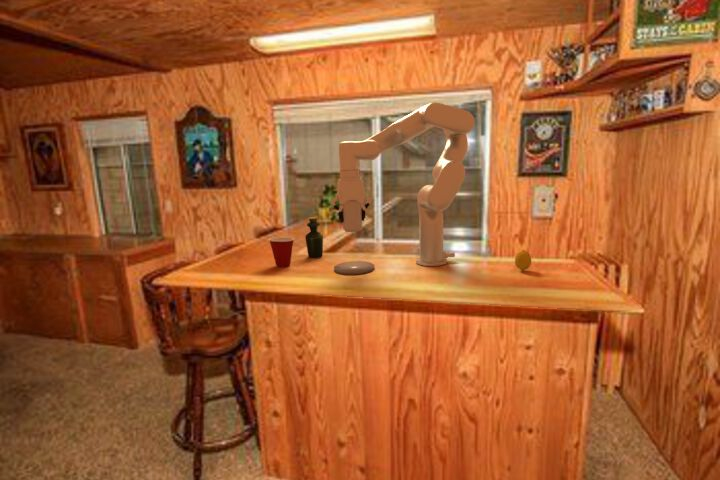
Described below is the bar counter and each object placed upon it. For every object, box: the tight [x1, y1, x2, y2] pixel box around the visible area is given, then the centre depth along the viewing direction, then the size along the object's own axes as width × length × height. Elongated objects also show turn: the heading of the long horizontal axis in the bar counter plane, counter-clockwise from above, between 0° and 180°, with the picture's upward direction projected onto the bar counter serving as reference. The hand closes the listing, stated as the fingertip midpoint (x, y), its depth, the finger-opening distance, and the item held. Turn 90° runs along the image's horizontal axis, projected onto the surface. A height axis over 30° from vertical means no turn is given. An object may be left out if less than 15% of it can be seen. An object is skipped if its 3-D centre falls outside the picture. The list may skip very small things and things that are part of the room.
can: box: [342, 201, 363, 233], centre depth 151 cm, size 8×8×12 cm
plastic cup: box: [268, 236, 295, 268], centre depth 164 cm, size 11×11×12 cm
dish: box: [333, 260, 375, 276], centre depth 155 cm, size 16×16×1 cm
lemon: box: [514, 249, 532, 272], centre depth 142 cm, size 6×6×8 cm
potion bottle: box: [304, 216, 324, 259], centre depth 177 cm, size 8×8×18 cm
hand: (352, 220), depth 152 cm, fingers closed on can, 7 cm apart
